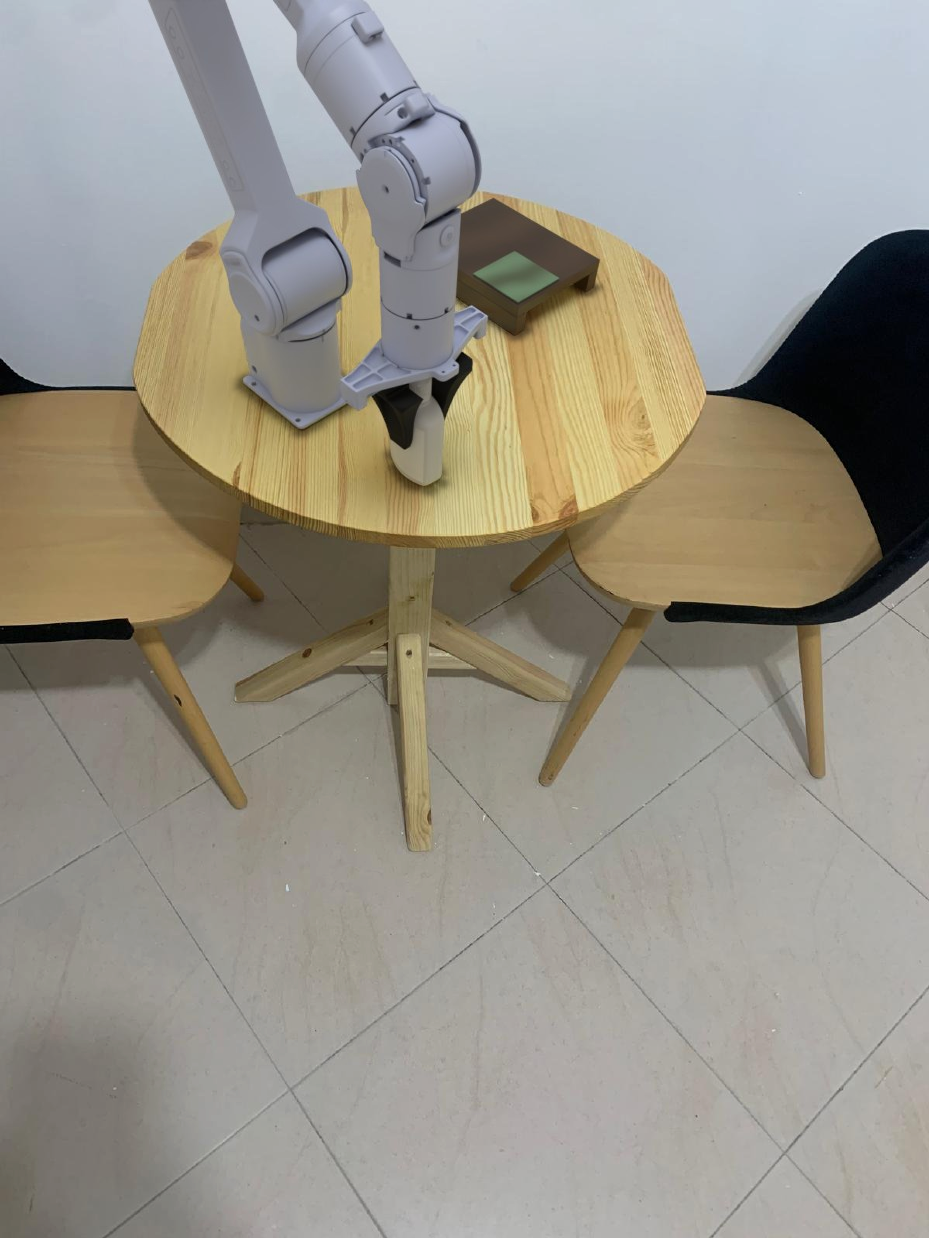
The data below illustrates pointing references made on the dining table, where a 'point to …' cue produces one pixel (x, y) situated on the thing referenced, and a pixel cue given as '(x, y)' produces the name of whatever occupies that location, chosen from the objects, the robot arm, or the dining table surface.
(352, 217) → the dining table surface
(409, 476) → the eye dropper bottle
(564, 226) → the dining table surface
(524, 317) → the shelf
